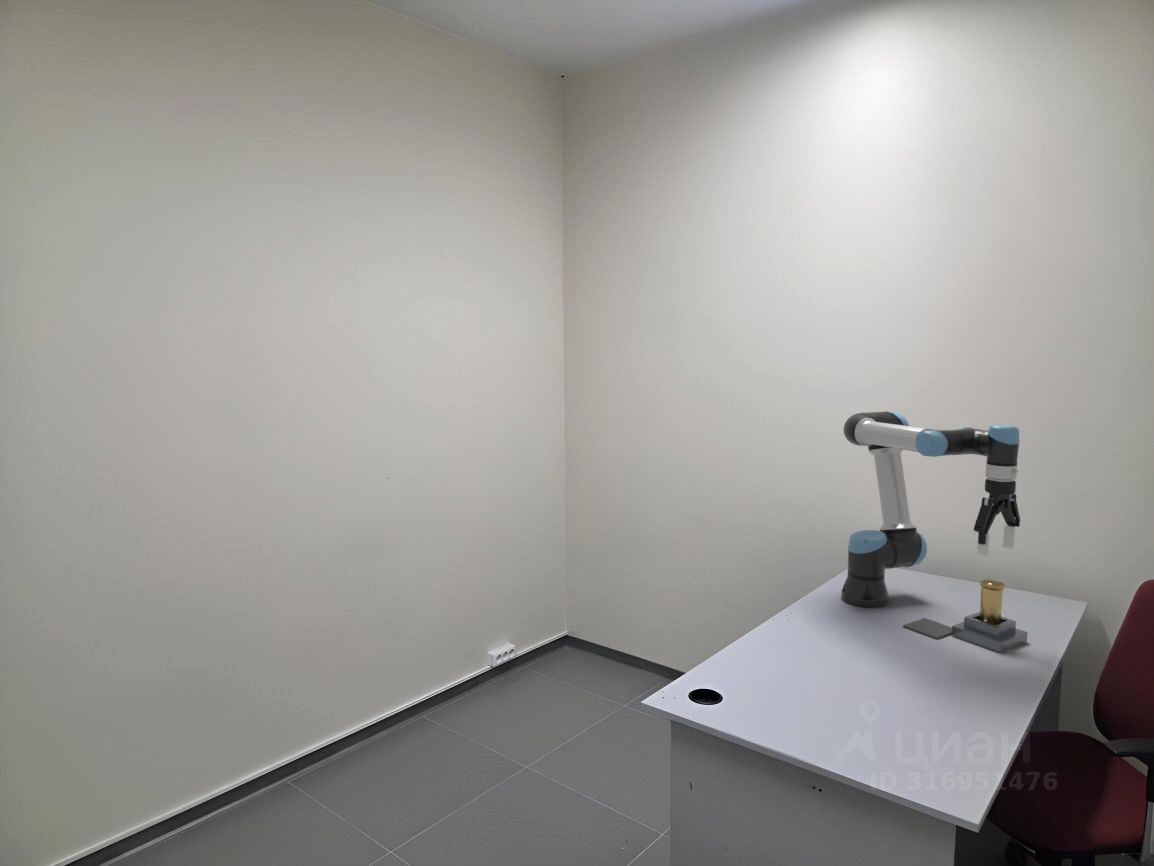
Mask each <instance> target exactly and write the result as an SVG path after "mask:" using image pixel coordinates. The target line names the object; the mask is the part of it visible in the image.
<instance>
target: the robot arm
mask: <svg viewBox="0 0 1154 866" xmlns="http://www.w3.org/2000/svg"><path fill="white" fill-rule="evenodd" d="M843 435H844V436H845V439H846V441H848V442H849V443H850V444H853V445H854V446H861V447H867V448H868V453H870V454H871V455H873V457H874V465H875V466H874V467H875V471H876V479H877V485H878V486H877V487H878V493H879V500H880V507H881V508H880V509H881V514H882V516H881V517H882V526H881V527H880V528H879V530H876V529H870V530H869V529H864V530H858V531H856V532H854V533H852V534H851V535H850V536H849V538H848V546H847V548H848V552H847V553H848V555H847V556H848V557H847V558H848V559H847V576H846V579H845V581H844V584H843V586H842V589H841V593H840V595H841V596H840V597H841V600H842V601H844V602H845V603H847V604H850V605H853V606H857V607H861V608H871V609H873V608H875V609H877V608H884V607H887V606H889V604H890V594H889V591H888V588H887V585H886V584H887V583H886V581H885V577H886V576H885V575H886V574H885V572H886V570H889V569H890V570H891V569H899V568H900V569H901V568H911V567H915V566H918V565H920V564H921V563H922V562H923V560H925V558H926V556H927V553H928V551H927V550H928V546H927V545H928V544H927V541H926V538H925V537H923V536H924V535H923V534H922V533H920V532H918V531H917V526H916V525H915V524H914V523H912V521H911V516H910V509H909V501H908V495H907V488H906V482H905V475H904V474H905V473H904V468H903V462H902V452H903V451H909V452H910V451H911V452H916V453H919V454H920V455H921V456H924V457H932V458H936V457H940V456H941V457H943V456H944V457H945V456H962V455H975V456H976V455H977V456H984V457H986V465H985V466H986V467H985V477H986V478H985V480H984V491H985V492H986V493H988V494H989V496H988V497H982V498H981V506H980V508H979V511H978V515H977V518H976V520H975V523H974V527H973V531H974V532H977V533H978V534H977V553H976V555H980V556H985V557H989V552H990V551H989V550H990V536H991V535H990V532H989V531H990V529H991V527H992V525H993V522H994V521H995V519H996V517H997V515H999V514H1000V513H1001V515H1002V517H1003V520H1004V522H1005V525H1003V526H1004V527H1003V538H1002V539H1003V540H1002V547H1003V548H1007V549H1011V550H1013V549H1014V548H1015V535H1016V528H1019V527H1020V524H1021V518H1020V512H1019V509H1018V504H1017V494H1016V486H1017V482H1016V479H1017V473H1018V471H1019V470H1018V458H1019V457H1018V456H1019V447H1020V443H1021V441H1020V429H1019V428H1018V427H1017V426H1016V425H1009V424H1008V425H1006V424H991V425H990V426H989V427H988V430H986V429H985V430H984V429H980V428H974V427H958V428H956V429H945V430H944V429H942V430H941V429H933V428H925V427H918V426H910V424H909V422H908V420H907V418H906V417H905V416H904V415H902V414H901V413H900V412H896V411H888V410H887V411H873V412H858V413H854V414H853V415H851V416H850V417H848V418H847V420H846V421H845V422H844V424H843Z"/></svg>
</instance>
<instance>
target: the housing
mask: <svg viewBox="0 0 1154 866" xmlns="http://www.w3.org/2000/svg"><path fill="white" fill-rule="evenodd" d="M979 616H980V611H978V612H975V613H972V614H969V615H967V616H964V618H963V621H962V622H960V623H957V624H954V625H952V626H951V627H952V634H951V636H952V637H955V638H957V639H960V640H963V641H965V642H968V643H972V644H974V645H977V646H980V647H983V648H985V649H988V650H991V651H994V652H996V653H1000V654H1001V653H1004V652H1006V651H1008V650H1011V649H1014V648H1016V647H1019V646H1020V645H1024V644H1025V643H1028V631H1025V630H1022V629H1019V628H1016V627H1017V621H1016V620H1013V619H1010V618H1006V617H1004V616H1001V623H1000V624H997V625H993V624H990V623H987V622H984V621H981V620H979Z"/></svg>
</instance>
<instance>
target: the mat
mask: <svg viewBox="0 0 1154 866" xmlns="http://www.w3.org/2000/svg"><path fill="white" fill-rule="evenodd" d="M902 628H904V629H907V630H910V631H913V632H915V633H918V634H921V635H923V636H925V637H929V638H932V639H934V640H940V639H943V638H945V637H948V636H952V626H949V625H946V624H944V623H940V622H937V621H934V620H933V619H929V618H926V617H925V618H921V619H917V620H914V621H912V622H909V623H906V624H903V625H902Z"/></svg>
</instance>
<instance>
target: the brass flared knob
mask: <svg viewBox="0 0 1154 866" xmlns="http://www.w3.org/2000/svg"><path fill="white" fill-rule="evenodd" d="M979 584H980V585H979V586H981V587H980V600H979V604H980V605H979V612H980V616H979V620H981V621H984V622H987V623H990V624H993V625H997V624H1000V623H1001V617H1002V611H1003V610H1002V607H1003V596H1004V595H1003V592H1004V591H1003V590H1004V589H1005V583H1004V582H1002V581H999V580H995V579H981V580H980V583H979Z"/></svg>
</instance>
